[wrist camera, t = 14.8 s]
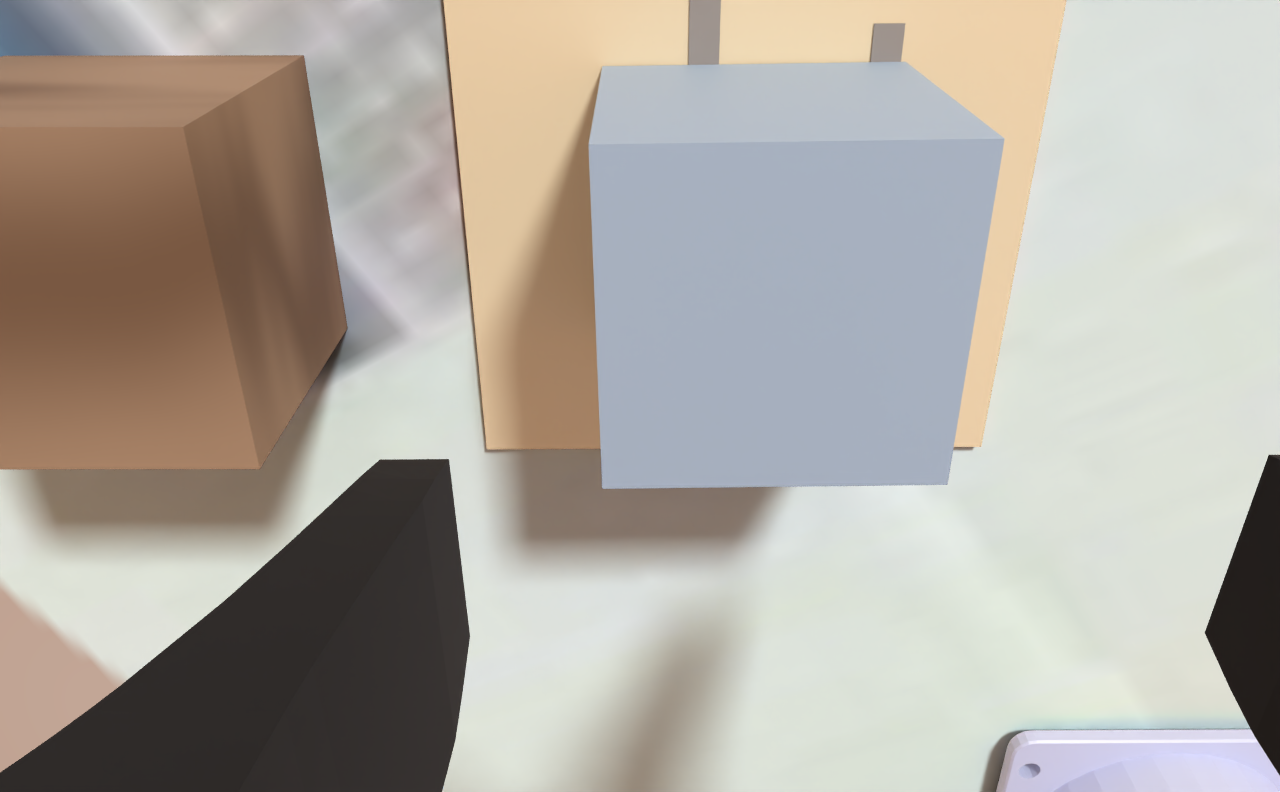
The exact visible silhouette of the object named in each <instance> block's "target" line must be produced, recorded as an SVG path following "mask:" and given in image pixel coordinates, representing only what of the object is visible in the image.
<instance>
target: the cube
mask: <svg viewBox="0 0 1280 792" xmlns="http://www.w3.org/2000/svg"><path fill="white" fill-rule="evenodd" d="M1004 140H1005V138H1003V137H1002V136H1001V135H999V134H998V133H997V132H996V131H994V130H993V129H992V128H990V127H989V126H988V125H987V124H985V123H984V122H983V121H981V120H980V119H979V118H978V117H976V116H975V115H974V114H972V113H971V112H970V111H969V110H967V109H966V108H965V107H963V106H962V105H961V104H960V103H958V102H957V101H956V100H954V99H953V98H952V97H951V96H949V95H948V94H947V93H945V92H944V91H943V90H941V89H940V88H939V87H938V86H936V85H935V84H934V83H932V82H931V81H930V80H929V79H927V78H926V77H925V76H923V75H922V74H921V73H920V72H918V71H917V70H916V69H914V68H913V67H912V66H911V65H909V64H908V63H907V62H851V63H783V64H716V65H649V66H602V71H601V77H600V82H599V88H598V94H597V99H596V105H595V111H594V116H593V122H592V128H591V133H590V139H589V169H590V194H591V219H592V245H593V270H594V295H595V320H596V345H597V370H598V396H599V421H600V446H601V471H602V489H630V488H713V487H797V486H880V485H947V484H948V478H949V472H950V466H951V460H952V454H953V448H954V442H955V436H956V430H957V424H958V418H959V412H960V405H961V399H962V393H963V387H964V381H965V375H966V369H967V363H968V357H969V351H970V345H971V339H972V333H973V327H974V321H975V315H976V309H977V303H978V297H979V291H980V285H981V279H982V273H983V267H984V261H985V255H986V249H987V242H988V236H989V230H990V224H991V218H992V212H993V206H994V200H995V194H996V188H997V182H998V176H999V170H1000V164H1001V158H1002V152H1003V146H1004Z"/></svg>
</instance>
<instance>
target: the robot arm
mask: <svg viewBox="0 0 1280 792" xmlns="http://www.w3.org/2000/svg"><path fill="white" fill-rule="evenodd" d="M1205 634H1206V636H1207V639H1208V641H1209V643H1210V645H1211V647H1212V650H1213V652H1214V654H1215V656H1216V658H1217V661H1218V663H1219V665H1220V667H1221V669H1222V672H1223V674H1224V676H1225V678H1226V680H1227V683H1228V685H1229V687H1230V689H1231V691H1232V693H1233V695H1234V697H1235V699H1236V701H1237V703H1238V705H1239V707H1240V709H1241V711H1242V713H1243V715H1244V717H1245V719H1246V721H1247V723H1248V724H1249V726H1250V728H1251V729H1214V730H1030V731H1023V732H1021V733H1019V734H1017V735H1015V736H1014V737H1013V738H1012V739H1011V740H1010V742H1009V744H1008V746H1007V750H1006V754H1005V758H1004V762H1003V766H1002V770H1001V774H1000V778H999V782H998V786H997V790H996V792H1280V455H1269V456H1268V459H1267V462H1266V464H1265V467H1264V470H1263V473H1262V475H1261V478H1260V481H1259V484H1258V487H1257V489H1256V492H1255V495H1254V498H1253V500H1252V503H1251V506H1250V509H1249V511H1248V514H1247V517H1246V520H1245V523H1244V525H1243V528H1242V531H1241V534H1240V536H1239V539H1238V542H1237V545H1236V548H1235V550H1234V553H1233V556H1232V559H1231V561H1230V564H1229V567H1228V570H1227V573H1226V575H1225V578H1224V581H1223V584H1222V586H1221V589H1220V592H1219V595H1218V598H1217V600H1216V603H1215V606H1214V609H1213V611H1212V614H1211V617H1210V620H1209V623H1208V625H1207V628H1206V631H1205ZM469 639H470V633H469V625H468V616H467V608H466V600H465V591H464V583H463V574H462V566H461V558H460V549H459V541H458V533H457V524H456V516H455V507H454V499H453V491H452V482H451V474H450V466H449V459H416V460H379V461H378V462H377V463H376V464H374V465H373V466H372V467H371V468H370V469H369V470H367V471H366V472H365V473H364V474H363V475H362V476H361V477H360V478H359V479H358V480H356V481H355V482H354V483H353V484H352V485H351V486H350V487H349V488H348V489H347V490H346V491H345V492H344V493H343V494H341V495H340V496H339V497H338V498H337V499H336V500H335V501H334V502H333V503H332V504H331V505H330V506H329V507H328V508H326V509H325V510H324V511H323V512H322V513H321V514H320V515H319V516H318V517H317V518H316V519H315V520H314V521H313V522H311V523H310V524H309V525H308V526H307V527H306V528H305V529H304V530H303V531H302V532H301V533H300V534H299V535H297V536H296V537H295V538H294V539H293V540H292V541H291V542H290V543H289V544H288V545H286V546H285V547H284V548H283V549H282V550H281V551H280V552H279V553H278V554H276V555H275V556H274V557H273V558H272V559H271V560H270V561H269V562H268V563H266V564H265V565H264V566H263V567H262V568H261V569H260V570H259V571H258V572H256V573H255V574H254V575H253V576H252V577H251V578H250V579H249V580H247V581H246V582H245V583H244V584H243V585H242V586H241V587H240V588H239V589H237V590H236V591H235V592H234V593H233V594H232V595H231V596H230V597H228V598H227V599H226V600H225V601H224V602H223V603H221V604H220V605H219V606H218V607H216V608H215V609H214V610H213V611H212V612H210V613H209V614H208V615H207V616H205V617H204V618H203V619H202V620H200V621H199V622H198V623H197V624H196V625H194V626H193V627H192V628H191V629H189V630H188V631H187V632H186V633H185V634H183V635H182V636H181V637H180V638H178V639H177V640H176V641H175V642H173V643H172V644H171V645H170V646H169V647H167V648H166V649H165V650H164V651H162V652H161V653H160V654H159V655H158V656H156V657H155V658H154V659H153V660H151V661H150V662H149V663H148V664H147V665H145V666H144V667H143V668H142V669H140V670H139V671H138V672H137V673H135V674H134V675H133V676H132V677H131V678H129V679H128V680H127V681H126V682H124V683H123V684H122V685H121V686H120V687H118V688H117V689H116V690H114V691H113V692H112V693H110V694H109V695H108V696H106V697H105V698H104V699H102V700H101V701H100V702H98V703H97V704H96V705H95V706H93V707H92V708H91V709H89V710H88V711H87V712H85V713H84V714H83V715H81V716H80V717H78V718H77V719H76V720H74V721H73V722H72V723H70V724H69V725H68V726H66V727H65V728H63V729H62V730H61V731H59V732H58V733H57V734H55V735H54V736H53V737H51V738H50V739H48V740H47V741H45V742H44V743H42V744H41V745H40V746H38V747H37V748H35V749H34V750H32V751H31V752H30V753H28V754H27V755H25V756H24V757H22V758H21V759H19V760H18V761H16V762H15V763H14V764H12V765H11V766H9V767H8V768H6V769H5V770H3V771H2V772H1V773H0V792H442V789H443V785H444V782H445V778H446V774H447V770H448V766H449V762H450V758H451V754H452V751H453V747H454V743H455V738H456V732H457V725H458V718H459V712H460V705H461V698H462V692H463V684H464V677H465V669H466V662H467V654H468V647H469ZM1025 764H1026V765H1025Z"/></svg>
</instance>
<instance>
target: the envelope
mask: <svg viewBox="0 0 1280 792" xmlns="http://www.w3.org/2000/svg"><path fill="white" fill-rule="evenodd" d="M1065 5H1066V0H444V11H445V21H446V31H447V42H448V52H449V63H450V73H451V83H452V94H453V104H454V114H455V125H456V135H457V146H458V156H459V166H460V177H461V187H462V197H463V208H464V218H465V229H466V239H467V249H468V260H469V270H470V280H471V291H472V301H473V311H474V322H475V332H476V343H477V353H478V363H479V374H480V384H481V394H482V405H483V415H484V426H485V436H486V446H487V449H601V446H600V421H599V396H598V370H597V345H596V320H595V295H594V270H593V245H592V219H591V194H590V169H589V139H590V133H591V128H592V122H593V116H594V111H595V105H596V99H597V94H598V88H599V82H600V77H601V71H602V66H649V65H716V64H783V63H851V62H907V63H908V64H909V65H911V66H912V67H913V68H914V69H916V70H917V71H918V72H920V73H921V74H922V75H923V76H925V77H926V78H927V79H929V80H930V81H931V82H932V83H934V84H935V85H936V86H938V87H939V88H940V89H941V90H943V91H944V92H945V93H947V94H948V95H949V96H951V97H952V98H953V99H954V100H956V101H957V102H958V103H960V104H961V105H962V106H963V107H965V108H966V109H967V110H969V111H970V112H971V113H972V114H974V115H975V116H976V117H978V118H979V119H980V120H981V121H983V122H984V123H985V124H987V125H988V126H989V127H990V128H992V129H993V130H994V131H996V132H997V133H998V134H999V135H1001V136H1002V137H1003V138H1005V140H1004V146H1003V152H1002V158H1001V164H1000V170H999V176H998V182H997V188H996V194H995V200H994V206H993V212H992V218H991V224H990V230H989V236H988V242H987V249H986V255H985V261H984V267H983V273H982V279H981V285H980V291H979V297H978V303H977V309H976V315H975V321H974V327H973V333H972V339H971V345H970V351H969V357H968V363H967V369H966V375H965V381H964V387H963V393H962V399H961V405H960V412H959V418H958V424H957V430H956V436H955V442H954V447H981V445H982V440H983V434H984V429H985V424H986V419H987V413H988V408H989V403H990V398H991V392H992V387H993V382H994V377H995V372H996V366H997V361H998V356H999V351H1000V345H1001V340H1002V335H1003V330H1004V324H1005V319H1006V314H1007V309H1008V304H1009V298H1010V293H1011V288H1012V283H1013V277H1014V272H1015V267H1016V262H1017V256H1018V251H1019V246H1020V241H1021V236H1022V230H1023V225H1024V220H1025V215H1026V209H1027V204H1028V199H1029V194H1030V188H1031V183H1032V178H1033V173H1034V168H1035V162H1036V157H1037V152H1038V147H1039V141H1040V136H1041V131H1042V126H1043V120H1044V115H1045V110H1046V105H1047V100H1048V94H1049V89H1050V84H1051V79H1052V73H1053V68H1054V63H1055V58H1056V52H1057V47H1058V42H1059V37H1060V32H1061V26H1062V21H1063V16H1064V11H1065Z"/></svg>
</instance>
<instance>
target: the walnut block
mask: <svg viewBox="0 0 1280 792" xmlns="http://www.w3.org/2000/svg"><path fill="white" fill-rule="evenodd" d="M346 330H347V322H346V316H345V309H344V303H343V297H342V291H341V284H340V278H339V272H338V266H337V259H336V253H335V247H334V241H333V234H332V228H331V222H330V216H329V210H328V203H327V197H326V191H325V185H324V178H323V172H322V166H321V160H320V153H319V147H318V141H317V135H316V128H315V122H314V116H313V110H312V104H311V97H310V91H309V85H308V79H307V72H306V66H305V60H304V55H294V56H2V57H0V469H260V468H261V467H262V465H263V463H264V462H265V460H266V458H267V457H268V455H269V454H270V452H271V450H272V449H273V447H274V446H275V444H276V442H277V441H278V439H279V438H280V436H281V434H282V433H283V431H284V429H285V428H286V426H287V425H288V423H289V421H290V420H291V418H292V417H293V415H294V413H295V412H296V410H297V409H298V407H299V405H300V404H301V402H302V401H303V399H304V397H305V396H306V394H307V392H308V391H309V389H310V388H311V386H312V384H313V383H314V381H315V380H316V378H317V376H318V375H319V373H320V372H321V370H322V368H323V367H324V365H325V363H326V362H327V360H328V359H329V357H330V355H331V354H332V352H333V351H334V349H335V347H336V346H337V344H338V343H339V341H340V339H341V338H342V336H343V334H344V333H345V331H346Z"/></svg>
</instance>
